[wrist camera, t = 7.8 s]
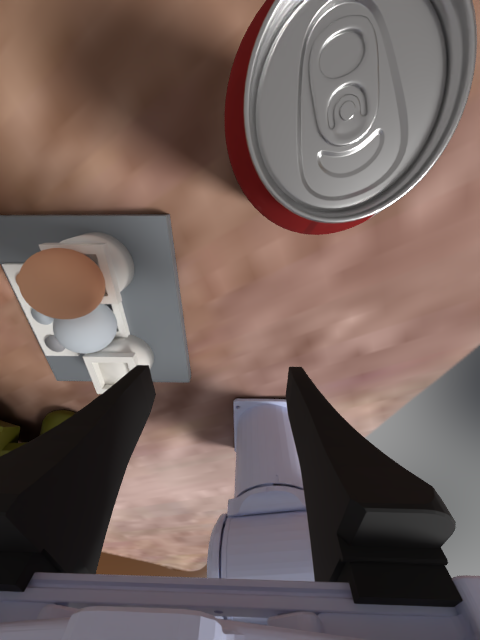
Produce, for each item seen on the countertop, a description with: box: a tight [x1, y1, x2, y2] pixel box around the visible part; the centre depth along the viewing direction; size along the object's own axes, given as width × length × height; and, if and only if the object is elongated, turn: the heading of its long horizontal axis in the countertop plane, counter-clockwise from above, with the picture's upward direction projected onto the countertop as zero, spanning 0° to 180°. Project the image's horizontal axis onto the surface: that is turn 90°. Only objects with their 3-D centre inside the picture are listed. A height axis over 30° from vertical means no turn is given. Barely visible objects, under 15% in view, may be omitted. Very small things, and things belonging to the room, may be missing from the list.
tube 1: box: [39, 232, 134, 304], centre depth 18 cm, size 5×5×3 cm
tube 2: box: [83, 335, 154, 394], centre depth 22 cm, size 5×5×3 cm
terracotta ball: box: [18, 248, 105, 319], centre depth 15 cm, size 4×4×4 cm
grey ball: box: [53, 304, 117, 354], centre depth 20 cm, size 4×4×4 cm
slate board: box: [0, 214, 191, 382], centre depth 22 cm, size 16×14×2 cm
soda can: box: [225, 0, 477, 235], centre depth 11 cm, size 7×7×12 cm
